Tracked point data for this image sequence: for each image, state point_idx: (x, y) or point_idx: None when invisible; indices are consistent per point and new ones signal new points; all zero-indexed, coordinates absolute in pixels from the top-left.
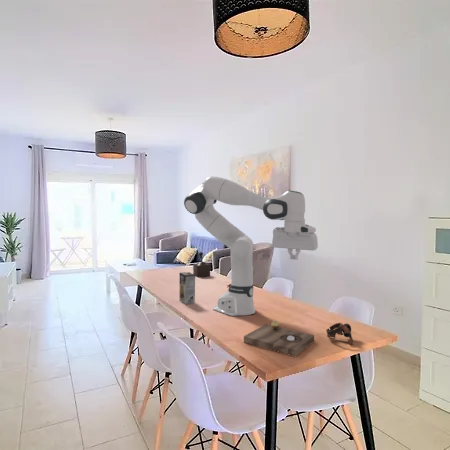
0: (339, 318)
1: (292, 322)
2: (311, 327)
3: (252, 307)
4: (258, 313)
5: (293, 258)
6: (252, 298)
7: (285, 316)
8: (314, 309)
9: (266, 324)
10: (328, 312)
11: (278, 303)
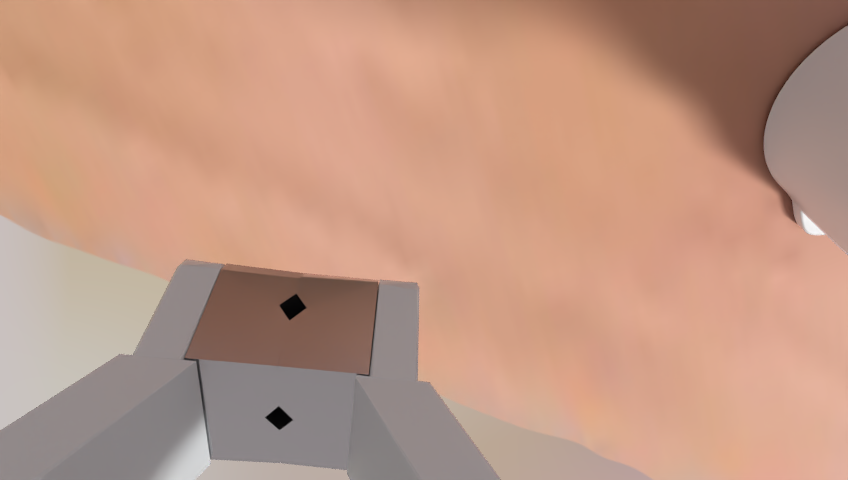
0: None
1: (445, 59)
2: (287, 20)
3: (806, 126)
4: (733, 131)
5: (283, 280)
6: (845, 183)
7: (526, 159)
8: None
9: None
10: None
11: (625, 363)
